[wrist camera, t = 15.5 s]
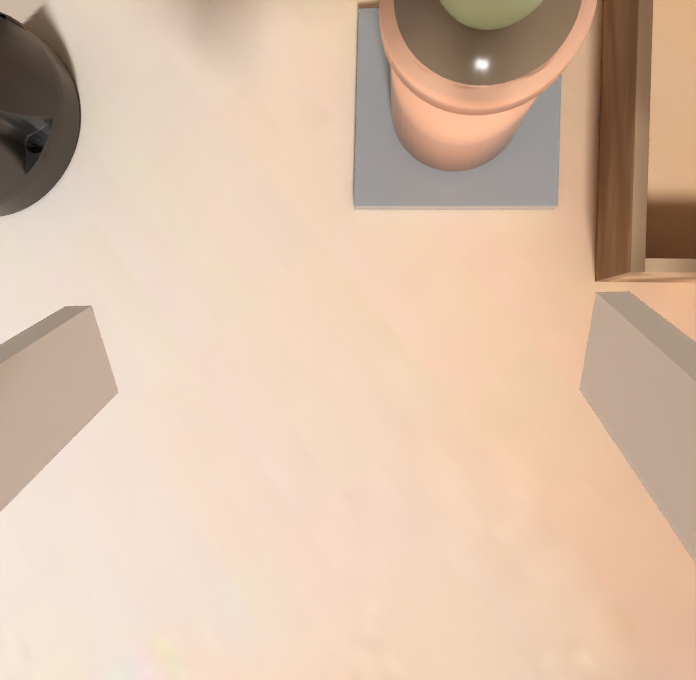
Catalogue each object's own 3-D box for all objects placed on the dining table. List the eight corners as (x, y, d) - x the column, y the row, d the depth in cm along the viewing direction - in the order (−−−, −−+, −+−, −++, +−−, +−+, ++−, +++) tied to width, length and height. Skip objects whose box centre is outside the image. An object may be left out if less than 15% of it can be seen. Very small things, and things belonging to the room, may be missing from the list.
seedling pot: (365, 65, 34) (339, -188, 17) (503, 13, 33) (611, -305, 17) (408, 198, 33) (422, 67, 17) (549, 150, 32) (703, -37, 16)
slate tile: (354, 209, 35) (353, 206, 34) (359, 18, 35) (358, 8, 34) (552, 209, 33) (557, 205, 32) (558, 9, 33) (563, -1, 32)
